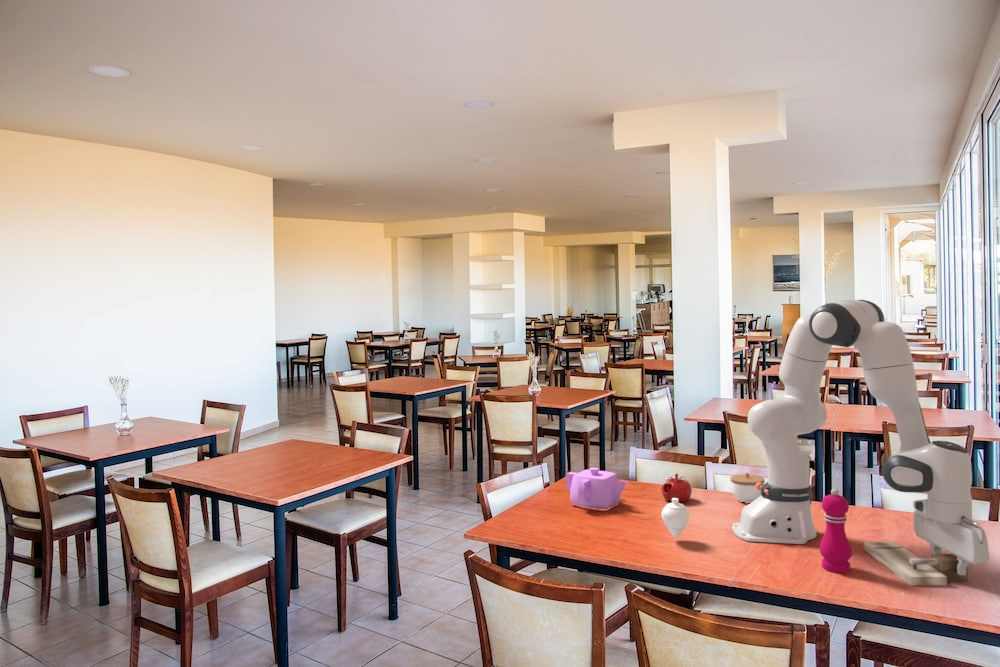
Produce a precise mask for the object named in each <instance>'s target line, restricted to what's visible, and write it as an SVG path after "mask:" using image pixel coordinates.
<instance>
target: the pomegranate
mask: <svg viewBox="0 0 1000 667" xmlns="http://www.w3.org/2000/svg"><path fill="white" fill-rule="evenodd" d="M674 476H675V478H673V477H672V476H669V478H668V479H666V480H665V482H664V484H663V485H662V486H661V492H662V497H663V498H664V499H665V501H667V502H669V501H671V502H670V503H672V498H678V499H679V501H678V502H684V503H687V502H688V501H689V500H690V499H691V496H692V493H693V492H692V491H693V490H692V485H691V484H690V483H689V479H685V477H684V476H679V473H675V475H674ZM682 478H683V479H682Z"/></svg>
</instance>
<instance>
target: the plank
mask: <svg viewBox="0 0 1000 667" xmlns="http://www.w3.org/2000/svg"><path fill="white" fill-rule="evenodd" d="M863 551H864V552H867V554H868V555H870V556H871V557H873V558H874V559H875V560H876V561H878V562H879V563H881V564H882V565H883V566H885V567H886V568H887V569H889V570H890V571H891V572H893V574H895V575H897V576H898V577H899V578H900V579H901V580H903V581H904V582H905V583H907V584H908V585H910V586H948V581H947V576H945V575H944V574H942V573H941V572H939V571H938V570H936V569H935V568H933V567H932V565H931V564H916V569H914V567H913V564H911V563H909V558H919V557H918V556H917V555H915V554H914V553H912V552H910V551H909V550H908V549H906V548H905V547H903V546H901V545H900V544H899V543H897V542H895V541H863Z"/></svg>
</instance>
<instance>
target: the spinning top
mask: <svg viewBox="0 0 1000 667" xmlns="http://www.w3.org/2000/svg"><path fill="white" fill-rule="evenodd" d="M678 501H679V499H678V498H672V502H669V503H666V504H665V506H664V507H663V508H662V510H661V519H662V521H663V523H664V525H665V527H666V528H667V529H668V531H669V533H670V534H671V535H672V536H673V537H674V538H675V539H674V541H677V540H678V537H679V536H680V535H681V534H682V533H683V531H684V530H685V529H686V527H687V525H688V523H689V521H690V516H691V515H690V512H689V509H688V508H687V507H686V506H685V505H684V504H683V503H678Z"/></svg>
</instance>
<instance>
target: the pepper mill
mask: <svg viewBox="0 0 1000 667" xmlns="http://www.w3.org/2000/svg"><path fill="white" fill-rule="evenodd" d="M839 493H840V492H839V490H838V489H837V488H832V489H831V490H830V494H827V495H825V496H824V497H823V498H822V501H821V508H822V510H823V512H824V513H823V515H824V517H823V519H824V520H825V531H824V535H823V536H822V539H821V540H820V544H819V553H820V555H821V556H822V559H821V567H822V569H824V570H826V571H828V572H830V573H834V574H845V573H849V572H850V571H851V563H850V561H849V560H850V559H851V558H852V556H853V550H852V549H853V548H852V545H851V543H850V541H849V539H848V537H847V534H846V531H845V527H846V526H845V524H846V522H847V517H848V516H847V515H846V514H847V513H848V512H849V501H848V500H847V499H846V498H845V497H844V496H842V495H840V494H839Z"/></svg>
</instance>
